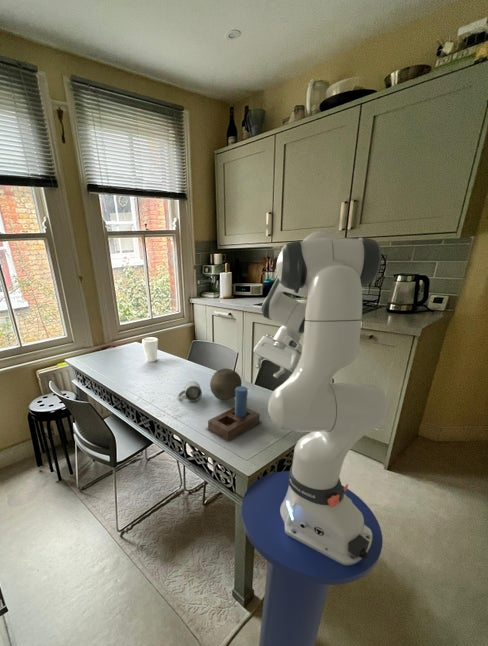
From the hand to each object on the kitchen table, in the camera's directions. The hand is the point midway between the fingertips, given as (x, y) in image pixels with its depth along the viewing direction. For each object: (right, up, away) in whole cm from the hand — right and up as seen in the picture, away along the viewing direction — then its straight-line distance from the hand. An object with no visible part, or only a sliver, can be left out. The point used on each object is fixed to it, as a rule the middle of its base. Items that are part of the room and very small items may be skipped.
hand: (265, 372), depth 122 cm
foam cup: (-52, +10, +73) cm, 90 cm away
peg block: (-12, -21, +2) cm, 24 cm away
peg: (-9, -20, +4) cm, 22 cm away
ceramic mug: (-29, -11, +25) cm, 40 cm away
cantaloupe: (-13, -12, +22) cm, 28 cm away
